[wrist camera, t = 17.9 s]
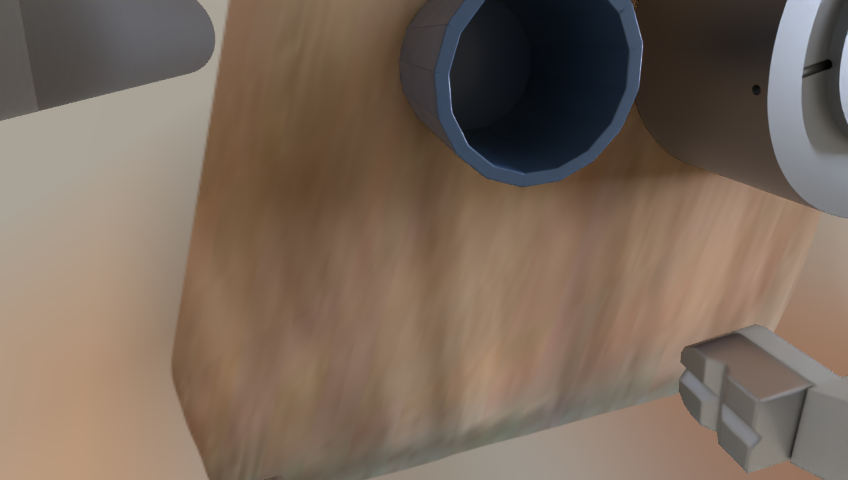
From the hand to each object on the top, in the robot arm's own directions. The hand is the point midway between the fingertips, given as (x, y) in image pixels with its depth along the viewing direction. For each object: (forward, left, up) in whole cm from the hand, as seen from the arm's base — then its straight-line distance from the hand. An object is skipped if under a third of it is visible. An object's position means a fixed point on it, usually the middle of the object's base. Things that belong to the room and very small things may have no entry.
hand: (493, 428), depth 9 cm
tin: (+7, +6, -30) cm, 32 cm away
